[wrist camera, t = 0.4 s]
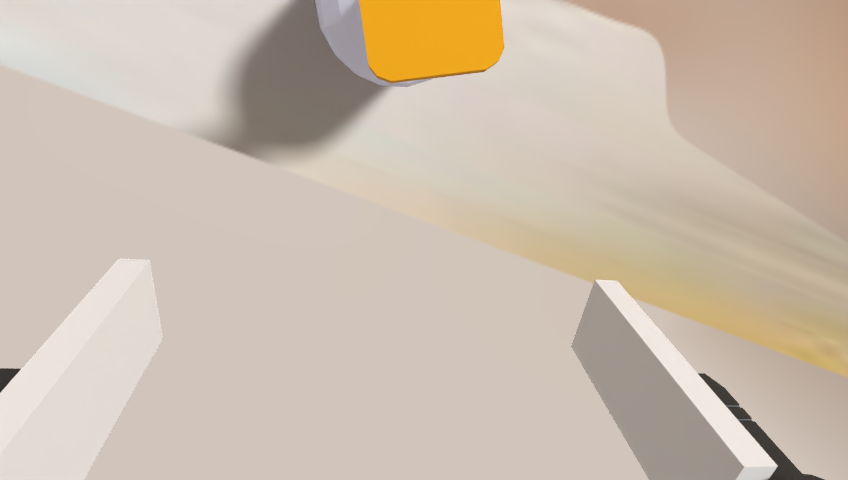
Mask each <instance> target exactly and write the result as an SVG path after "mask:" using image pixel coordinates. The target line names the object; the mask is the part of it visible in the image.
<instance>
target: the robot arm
mask: <svg viewBox="0 0 848 480" xmlns="http://www.w3.org/2000/svg"><path fill="white" fill-rule="evenodd" d="M162 340H163V335H162V329H161V324H160V319H159V312H158V306H157V300H156V294H155V288H154V282H153V276H152V270H151V265H150V260H140V259H118V260H117V261H116V263H115V264H114V265H113V266H112V267H111V268H110V269H109V271H108V272H107V273H106V274H105V275H104V276H103V277H102V278H101V279H100V281H99V282H98V283H97V284H96V285H95V286H94V288H92V290H91V291H90V292H89V293H88V294H87V295H86V296H85V298H84V299H83V300H82V301H81V302H80V303H79V304H78V305H77V307H76V308H75V309H74V310H73V311H72V312H71V313H70V315H69V316H68V317H67V318H66V319H65V320H64V321H63V322H62V324H61V325H60V326H59V327H58V328H57V329H56V330H55V332H54V333H53V334H52V335H51V336H50V337H49V338H48V339H47V341H46V342H45V343H44V344H43V345H42V346H41V347H40V348H39V350H38V351H37V352H36V353H35V354H34V355H33V356H32V357H31V359H30V360H29V361H28V362H27V363H26V364H25V365H24V366H23V368H22V369H0V480H84V479H85V477H86V476H87V474H88V472H89V470H90V469H91V467H92V465H93V463H94V461H95V460H96V458H97V456H98V454H99V452H100V451H101V449H102V447H103V445H104V443H105V442H106V440H107V438H108V436H109V435H110V432H111V431H112V429H113V427H114V426H115V424H116V422H117V420H118V418H119V417H120V415H121V413H122V411H123V410H124V408H125V406H126V404H127V402H128V401H129V399H130V397H131V395H132V393H133V391H134V390H135V388H136V386H137V385H138V383H139V381H140V379H141V377H142V376H143V374H144V372H145V370H146V368H147V367H148V365H149V363H150V361H151V359H152V357H153V355H154V354H155V352H156V351H157V349H158V347H159V345H160V343H161V342H162ZM571 347H572V348H573V350H574V352H575V353H576V355H577V357H578V359H579V360H580V362H581V364H582V366H583V367H584V369H585V370H586V372H587V374H588V376H589V378H590V379H591V381H592V383H593V384H594V386H595V388H596V390H597V391H598V393H599V395H600V396H601V398H602V400H603V402H604V403H605V405H606V407H607V408H608V410H609V412H610V413H611V415H612V417H613V419H614V420H615V422H616V424H617V425H618V427H619V429H620V431H621V432H622V434H623V436H624V437H625V439H626V441H627V443H628V444H629V446H630V448H631V449H632V451H633V453H634V455H635V456H636V458H637V460H638V461H639V463H640V465H641V467H642V468H643V470H644V472H645V473H646V475H647V477H648V479H649V480H824V479H821V478H819V477H816V476H813V475H807V474H802V473H801V472H800V471H799V470H798V469H797V468H796V467H795V466H794V464H793V463H792V462H791V461H790V460H789V459H788V458H787V457H786V456H785V455H784V453H783V452H782V451H781V450H780V449H779V448H778V447H777V446H776V445H775V444H774V442H773V441H772V440H771V439H770V438H769V437H768V436H767V435H766V433H765V432H764V431H763V430H762V429H761V428H760V427H759V426H758V425H757V423H756V422H753V421H752V420H751V417H750V416H749V415H748V414H747V413H746V411H745V410H744V409H743V408H740V407H739V404H738V403H737V401H736V400H735V399H734V398H733V397H732V396H731V395H730V394H729V393H728V391H727V390H726V389H725V388H724V387H722V386H721V385H720V384H718V383H717V382H715V381H714V380H713V379H711V378H710V377H709V376H707V375H706V374H698V373H697V372H696V371H695V370H694V369H693V368H692V367H691V365H690V364H689V363H688V362H687V361H686V360H685V358H684V357H683V356H682V355H681V354H680V353H679V352H678V350H677V349H676V348H675V347H674V346H673V345H672V344H671V342H670V341H669V340H668V339H667V338H666V337H665V335H664V334H663V333H662V332H661V331H660V330H659V329H658V328H657V326H656V325H655V324H654V323H653V322H652V321H651V320H650V318H649V317H648V316H647V315H646V314H645V312H644V311H643V310H642V309H641V308H640V307H639V306H638V304H637V303H636V302H635V301H634V300H633V299H632V297H631V296H630V295H629V294H628V293H627V292H626V291H625V289H624V288H623V287H622V286H621V285H620V284H619V283H618V281H612V280H595V281H594V284H593V287H592V289H591V293H590V295H589V298H588V301H587V304H586V306H585V309H584V312H583V315H582V318H581V321H580V323H579V326H578V329H577V332H576V335H575V338H574V340H573V343H572V346H571Z"/></svg>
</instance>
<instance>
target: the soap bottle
mask: <svg viewBox="0 0 848 480" xmlns="http://www.w3.org/2000/svg"><path fill="white" fill-rule="evenodd" d="M315 3H316V8H317V13H318V19H319V24H320V28H321V30H322V32H323V34H324V36H325V38H326V39H327V41H328V43H329V45H330V47H331V49H332V50H333V52H334V54H335V55H336V56H337V57H338V58H339V59H340V60H341V61H342V62H343V63H344V64H345V65H346V66H347V67H348V68H349V69H351V70H352V71H353V72H354V73H355V74H356V75H358V76H360V77H363V78H365V79H367V80H370V81H372V82H374V83H376V84H379V85H382V86H400V87H408V86H411V85H415V84H418V83H421V82H424V81H427V80H430V79H433V78H438V77H446V76H454V75H462V74H470V73H478V72H484V71H486V70H487V69H489V68H490V67H491V66H493V65H494V64H496V63H497V62H498V61H499V59H500V56H501V54H502V52H503V49H504V40H503V29H502V18H501V7H500V0H315Z"/></svg>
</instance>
